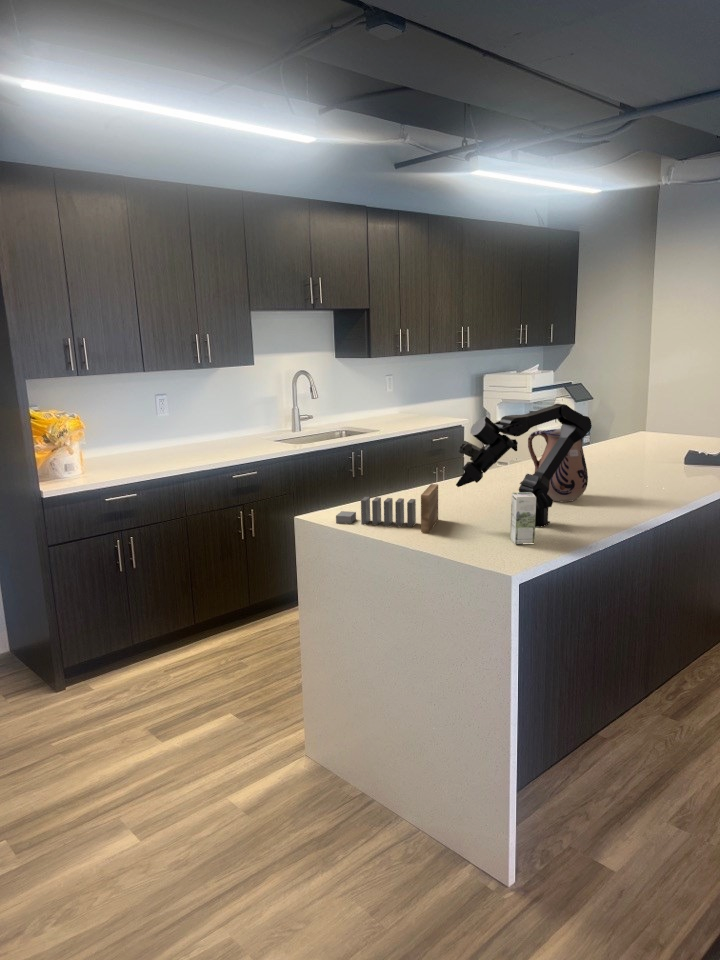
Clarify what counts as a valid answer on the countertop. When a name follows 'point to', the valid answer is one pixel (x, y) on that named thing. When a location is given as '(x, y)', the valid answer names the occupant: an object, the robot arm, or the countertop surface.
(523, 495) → the syrup box
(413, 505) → the domino
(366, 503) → the domino
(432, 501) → the board
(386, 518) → the domino
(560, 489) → the ceramic pitcher
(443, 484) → the countertop surface
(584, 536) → the countertop surface
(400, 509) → the domino
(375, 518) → the domino
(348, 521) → the block
